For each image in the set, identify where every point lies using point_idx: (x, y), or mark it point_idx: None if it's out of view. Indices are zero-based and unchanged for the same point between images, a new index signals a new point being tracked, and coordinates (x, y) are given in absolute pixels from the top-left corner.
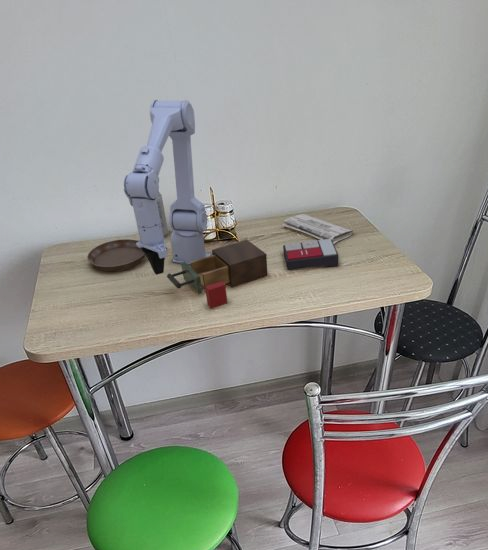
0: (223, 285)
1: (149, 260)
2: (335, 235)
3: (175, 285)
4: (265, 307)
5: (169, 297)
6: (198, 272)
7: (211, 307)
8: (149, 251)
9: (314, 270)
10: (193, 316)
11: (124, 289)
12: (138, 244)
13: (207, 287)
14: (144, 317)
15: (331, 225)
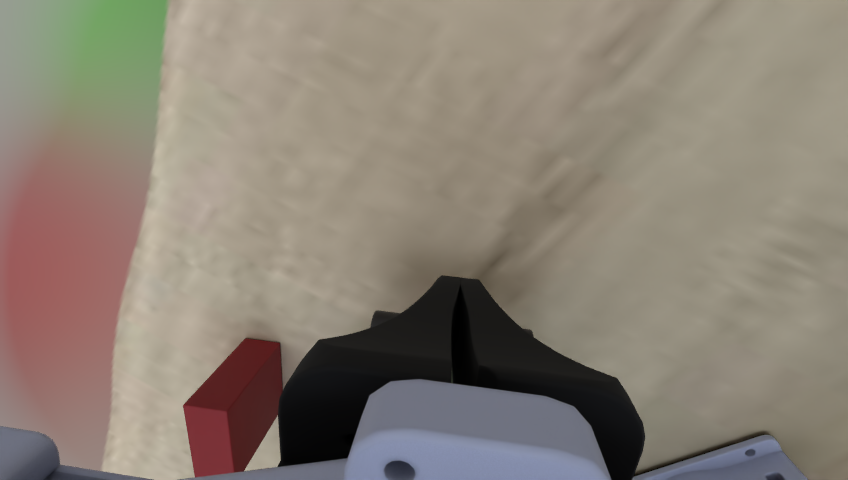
0: (194, 469)
1: (471, 326)
2: None
3: (390, 316)
4: (158, 465)
5: (450, 253)
6: None
7: (243, 343)
8: (355, 432)
9: None
10: (227, 255)
11: (740, 90)
12: (414, 461)
13: (209, 414)
14: (349, 56)
15: None
